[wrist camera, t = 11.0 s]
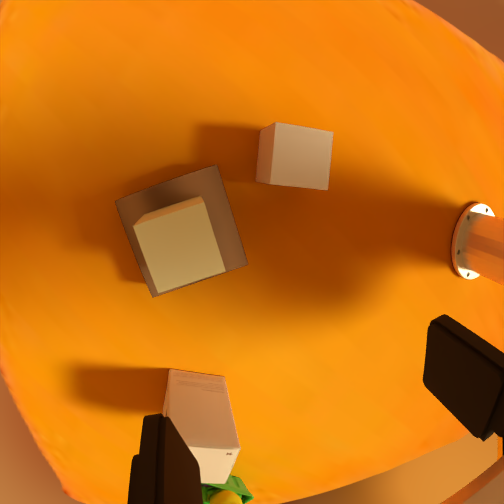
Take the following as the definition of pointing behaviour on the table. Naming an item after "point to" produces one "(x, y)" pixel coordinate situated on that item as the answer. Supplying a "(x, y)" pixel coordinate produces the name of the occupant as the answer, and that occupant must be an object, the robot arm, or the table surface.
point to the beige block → (179, 244)
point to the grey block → (294, 156)
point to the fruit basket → (226, 492)
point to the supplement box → (203, 421)
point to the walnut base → (181, 190)
